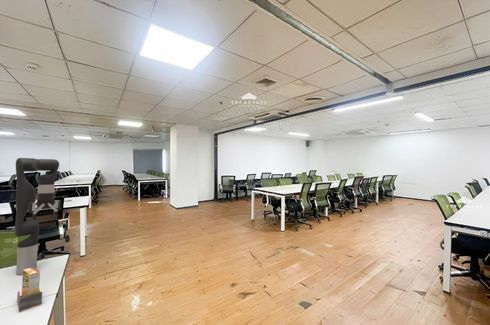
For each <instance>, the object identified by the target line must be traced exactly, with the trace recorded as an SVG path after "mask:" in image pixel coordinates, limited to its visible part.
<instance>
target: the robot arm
mask: <svg viewBox="0 0 490 325" xmlns="http://www.w3.org/2000/svg"><path fill="white" fill-rule="evenodd" d="M59 167H60V162H59V161H58V160H57V159H53V158H52V159H51V158H49V159H48V158H40V159H39V158H38V159H37V158H34V157H32V158H30V157H18V158H17V159H16V160H15V176H16V191H15V200H16V201H15V205H16V208H15V209H16V212H15V213H16V214H15V215H16V216H15V225H14V234H15V237H17V238H19V237H24V236H27V237H25V238H23V240H20V241H18V242H17V248H16V250H17V252H16V270H15V272H16V273H15V274H16V275H18V276H21V275H22V276H23V270H25V269H28V268H32V267H33V268H35V269H37V267H38V266H37V262H38V260H37V259H38V241H39V231H40V222H39V220H37V213H38V212H39V211H41V210H48V209H52V210H53V219H56V217H57V218H58V212H59V211H61V210H62V201H61V199H60V200H55V193H56V190H55V189H56V187H55V186H56V185H55V183H56V182H55V180H56V179H55V178H56V175H57V173H58V170H59ZM38 171H39V172H42V171H43V172H45V171H46V172H48V173H46V174H45V173H44V174H41V175H39V177H38V187H37V190H36V188H35V187H34V186H33V185H32V184H31V182H29V181H28V179H27V178H26V175H25V173H26V172H29V173H31V172H32V173H33V172H38ZM55 204H56V205H57V208H56V207H54V205H55ZM35 206H37V207H36V208H35V209H34V210H33V208H34V207H35ZM27 213H28V214H32V220H31V219H30V220H25V221H24V219H25V216H26V214H27Z"/></svg>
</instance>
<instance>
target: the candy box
mask: <svg viewBox="0 0 490 325" xmlns="http://www.w3.org/2000/svg"><path fill="white" fill-rule="evenodd" d="M40 277H41V271H40V270H38V269H37V268H36V269H35V268H33V267H32V268H28V269H25V270H23V275H22V279H21V280H22V282H21V283H22V284H21V293H20V296H21V298H22V297H26V296H29V295H32V294H35V293H38V292H39V290H40Z"/></svg>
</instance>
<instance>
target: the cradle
mask: <svg viewBox="0 0 490 325" xmlns="http://www.w3.org/2000/svg"><path fill="white" fill-rule="evenodd" d="M16 293H17V295H16V296H17V298H16V299H17V308H18V313H20V312H23V311H26V310H29V309H32V308H34V307H37V306H40V305H42V302H43V301H42V300H43V291H41V290H40V289H39V292H38V293H35V294H32V295H29V296H26V297H22V298H21V293H20V291H17V292H16Z"/></svg>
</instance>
